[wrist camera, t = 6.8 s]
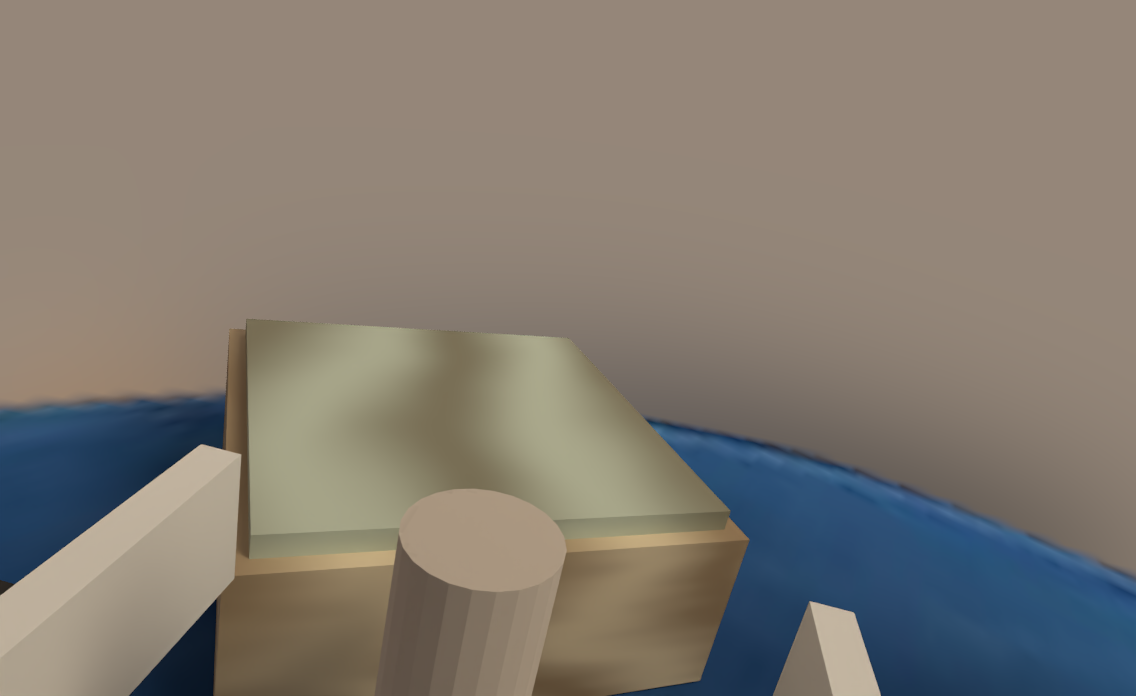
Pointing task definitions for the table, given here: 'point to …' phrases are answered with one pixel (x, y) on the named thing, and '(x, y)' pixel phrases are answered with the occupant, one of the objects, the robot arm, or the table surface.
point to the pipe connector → (469, 596)
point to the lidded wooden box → (445, 462)
